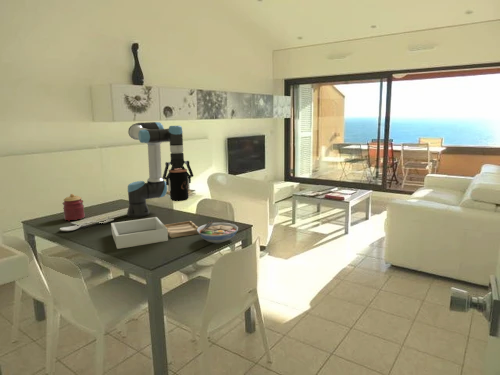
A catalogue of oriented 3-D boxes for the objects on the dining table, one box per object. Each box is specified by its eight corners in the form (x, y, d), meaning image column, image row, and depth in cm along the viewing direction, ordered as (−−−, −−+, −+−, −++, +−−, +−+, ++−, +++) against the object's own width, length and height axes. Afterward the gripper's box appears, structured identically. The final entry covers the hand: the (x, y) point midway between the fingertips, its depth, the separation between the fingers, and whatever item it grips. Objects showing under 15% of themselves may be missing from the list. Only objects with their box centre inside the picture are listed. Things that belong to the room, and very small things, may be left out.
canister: (83, 215, 261) (81, 191, 258) (86, 219, 250) (83, 194, 247) (63, 218, 254) (60, 193, 251) (65, 222, 244) (62, 196, 240)
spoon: (114, 223, 241) (114, 218, 240) (62, 234, 219) (62, 229, 219) (109, 220, 247) (108, 215, 247) (58, 231, 226) (57, 226, 225)
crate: (112, 234, 217) (111, 223, 215) (157, 227, 228) (156, 217, 227) (117, 248, 193) (116, 236, 192) (167, 240, 204) (167, 228, 203)
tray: (162, 228, 226) (162, 224, 226) (191, 224, 234) (190, 220, 233) (170, 238, 209) (170, 234, 208) (200, 233, 216) (200, 229, 216)
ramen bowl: (233, 250, 188) (232, 235, 186) (191, 248, 192) (190, 233, 190) (242, 234, 212) (242, 221, 211) (204, 233, 216) (204, 220, 215)
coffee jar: (184, 201, 211) (183, 171, 208) (167, 201, 213) (165, 170, 210) (191, 197, 221) (189, 168, 218) (174, 197, 223) (173, 168, 220)
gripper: (158, 154, 204) (160, 192, 208) (197, 151, 213) (199, 188, 218) (155, 153, 210) (158, 190, 215) (194, 150, 220) (195, 186, 224)
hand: (179, 189), depth 216 cm, fingers closed on coffee jar, 11 cm apart
